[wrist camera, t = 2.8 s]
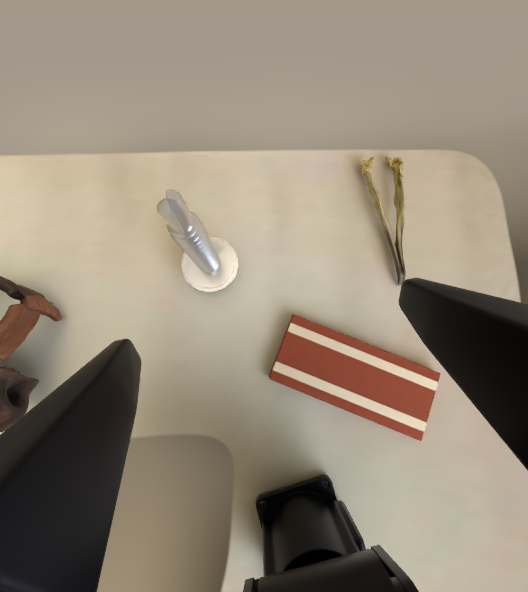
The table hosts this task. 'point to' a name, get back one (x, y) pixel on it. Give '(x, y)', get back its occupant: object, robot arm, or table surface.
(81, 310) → the table surface
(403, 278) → the tongs
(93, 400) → the robot arm
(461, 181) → the table surface
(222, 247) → the screw
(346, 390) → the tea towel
